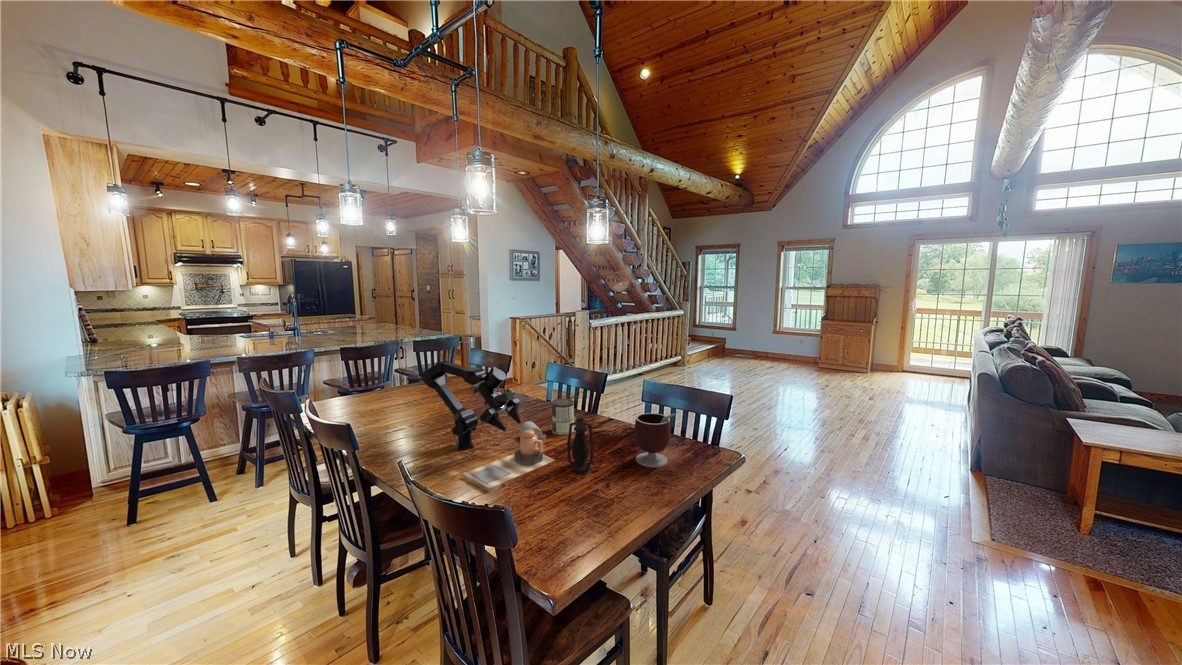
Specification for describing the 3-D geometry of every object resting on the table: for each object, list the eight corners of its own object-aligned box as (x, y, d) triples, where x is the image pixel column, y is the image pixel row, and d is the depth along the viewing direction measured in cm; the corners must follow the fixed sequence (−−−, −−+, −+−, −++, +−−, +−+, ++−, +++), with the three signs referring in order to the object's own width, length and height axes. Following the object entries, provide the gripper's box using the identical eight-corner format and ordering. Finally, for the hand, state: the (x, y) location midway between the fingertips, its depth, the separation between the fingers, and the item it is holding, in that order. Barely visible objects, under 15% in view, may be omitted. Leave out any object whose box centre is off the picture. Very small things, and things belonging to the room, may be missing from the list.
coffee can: (547, 431, 196) (546, 402, 194) (561, 425, 204) (561, 397, 202) (564, 436, 190) (564, 406, 188) (578, 430, 198) (578, 400, 196)
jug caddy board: (529, 451, 173) (528, 441, 173) (555, 463, 163) (555, 452, 162) (463, 477, 152) (462, 465, 151) (488, 492, 141) (488, 480, 140)
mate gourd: (629, 465, 162) (630, 414, 159) (638, 451, 175) (639, 404, 172) (670, 471, 157) (672, 419, 154) (676, 456, 170) (678, 408, 167)
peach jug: (517, 460, 162) (516, 432, 160) (527, 454, 167) (526, 427, 166) (537, 465, 157) (537, 437, 156) (546, 459, 163) (546, 431, 162)
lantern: (575, 476, 152) (575, 395, 148) (565, 467, 160) (565, 390, 155) (594, 471, 156) (595, 392, 152) (584, 463, 163) (585, 387, 159)
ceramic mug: (527, 445, 180) (527, 428, 179) (519, 439, 186) (519, 422, 185) (549, 440, 186) (549, 423, 185) (541, 434, 192) (541, 418, 191)
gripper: (484, 388, 157) (509, 422, 153) (515, 378, 173) (538, 408, 170) (469, 406, 162) (492, 439, 158) (501, 394, 178) (523, 423, 174)
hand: (512, 426), depth 165 cm, fingers open, 9 cm apart
